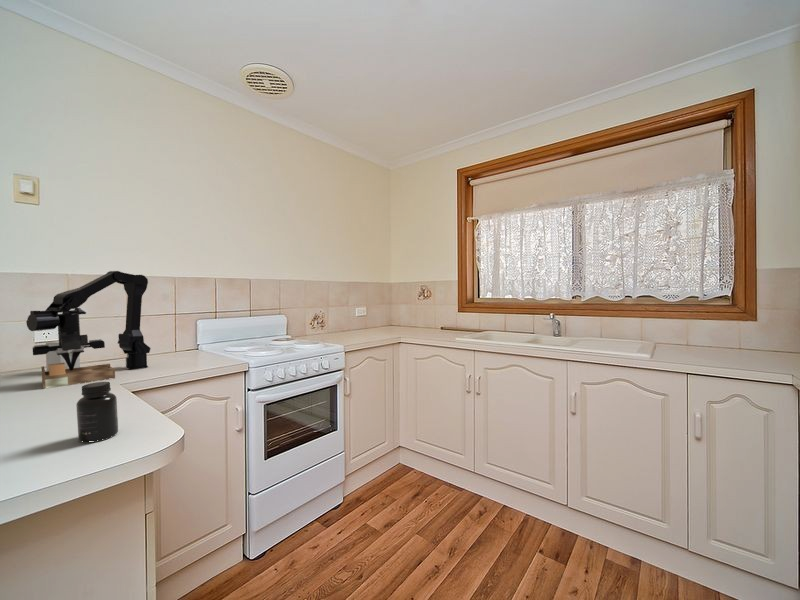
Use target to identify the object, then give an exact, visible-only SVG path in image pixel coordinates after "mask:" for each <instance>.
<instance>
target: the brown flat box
mask: <svg viewBox="0 0 800 600" xmlns="http://www.w3.org/2000/svg"><path fill="white" fill-rule="evenodd" d="M109 378H113V379H116V369H115V366H114V367H112V366H111V363H104V364H97V365H96V364H95V365H88V366H80V367H79V368H73V370H72V371H70V369H65V374H61V375H53V376H49V371H47V370H46V371H45V366H41V384H42V389H43V390H44V389H45V388H46V389H51V388H52V387H53V388H59V386H60V387H63V386H65V385H66V386H72V384H73V385H78V383H80V384H85V382H86V383H92V382H91V381H93V382H98V381H97V380H100V381H105V380H104V379H106V380H110V379H109ZM66 386H65V387H66Z"/></svg>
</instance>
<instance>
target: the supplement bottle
mask: <svg viewBox="0 0 800 600" xmlns="http://www.w3.org/2000/svg"><path fill="white" fill-rule="evenodd" d="M111 391H112V388H111V382H109V381H95V382H89V383H87V384H84V385H81V396H82V397H81V398H79V399H78V400H77V402H76V420H77V438H78V441H79V442H80V441H83V442H89V441H97V440H102V439H105V440H107V439H106V438H108V439H110V438H109V437H111V436H113V437H114V436H116V435H117V434H118V432H119V417H118V401H117V396H116V394H114V393H112V392H111ZM115 434H116V435H115ZM111 438H112V437H111ZM102 441H103V440H102Z"/></svg>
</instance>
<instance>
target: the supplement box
mask: <svg viewBox="0 0 800 600" xmlns="http://www.w3.org/2000/svg"><path fill="white" fill-rule="evenodd" d="M46 344H48V345H49V346H58V345H59V340H56V341H47V342H45V345H46ZM68 353H69V357H70V362H71V357H72V350H68ZM80 354H81V353H80ZM80 354H79V356H78V358H77V360H76V362H75V365H74V368H79V367H81V359H80V357H81V356H80ZM45 358H46V359H45V362H46V366H45V367H46V372H47V371H49V364H56V363H65V369H69V367H68V365H67V363H66V361H65V359H64V358H63V357H62V355H57V354H56V351H49V352H48V353H47V354H45Z"/></svg>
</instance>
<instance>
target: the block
mask: <svg viewBox="0 0 800 600" xmlns="http://www.w3.org/2000/svg"><path fill="white" fill-rule="evenodd" d="M61 374H65V363H56V364H49V376H53V375H61Z"/></svg>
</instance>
